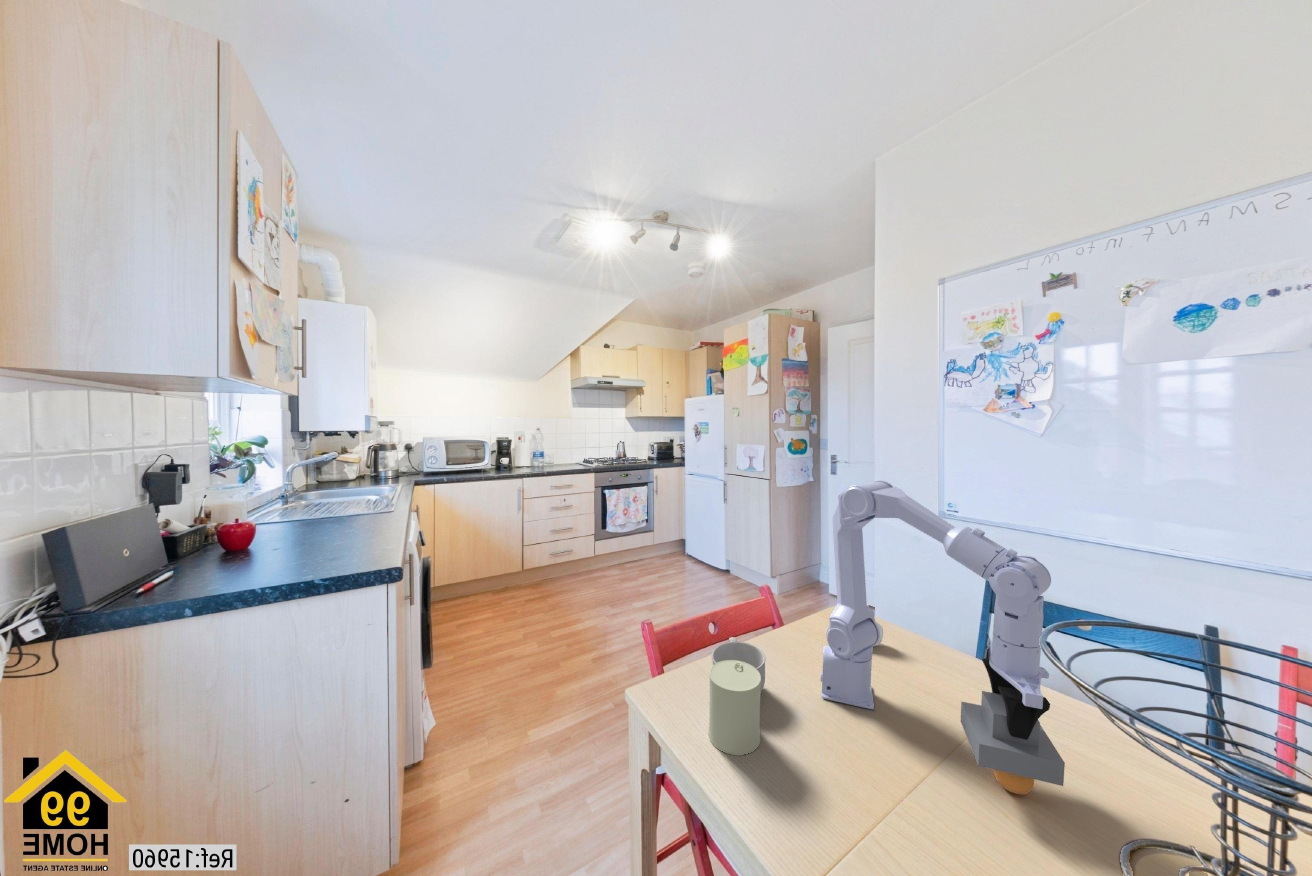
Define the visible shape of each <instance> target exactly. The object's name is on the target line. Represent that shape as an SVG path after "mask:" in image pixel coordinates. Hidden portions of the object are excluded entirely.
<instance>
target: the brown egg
mask: <svg viewBox="0 0 1312 876" xmlns="http://www.w3.org/2000/svg"><path fill="white" fill-rule="evenodd" d="M992 772H993V774H994V777H995V778H996V781H997V782H998V783H999V784H1000V785H1001V786H1002V788H1004V789H1005V790H1007V791H1008V792H1010V793H1013V794H1016V795H1026V794H1029V793H1030V792H1032V790H1033V788H1034V786H1035V779H1031V778H1027V777H1023V776H1019V775H1014V774H1010V773H1006V772H1002V771H998V770H993V769H992Z"/></svg>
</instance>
